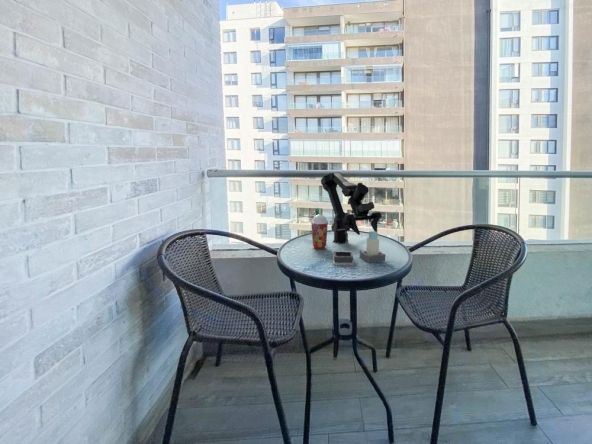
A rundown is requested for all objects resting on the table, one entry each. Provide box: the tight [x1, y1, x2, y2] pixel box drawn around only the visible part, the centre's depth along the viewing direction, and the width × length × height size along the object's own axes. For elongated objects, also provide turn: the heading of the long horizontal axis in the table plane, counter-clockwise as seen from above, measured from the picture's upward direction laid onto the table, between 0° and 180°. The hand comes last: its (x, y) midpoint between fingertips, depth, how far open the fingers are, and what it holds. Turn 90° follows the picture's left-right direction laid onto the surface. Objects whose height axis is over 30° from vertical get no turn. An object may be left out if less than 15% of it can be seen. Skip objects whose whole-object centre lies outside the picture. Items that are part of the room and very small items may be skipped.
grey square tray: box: [359, 250, 386, 264], centre depth 188 cm, size 8×8×3 cm
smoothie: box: [310, 208, 329, 250], centre depth 205 cm, size 8×8×20 cm
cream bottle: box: [366, 230, 380, 256], centre depth 187 cm, size 4×4×13 cm
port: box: [332, 251, 355, 266], centre depth 185 cm, size 9×9×4 cm
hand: (368, 233), depth 190 cm, fingers open, 9 cm apart
